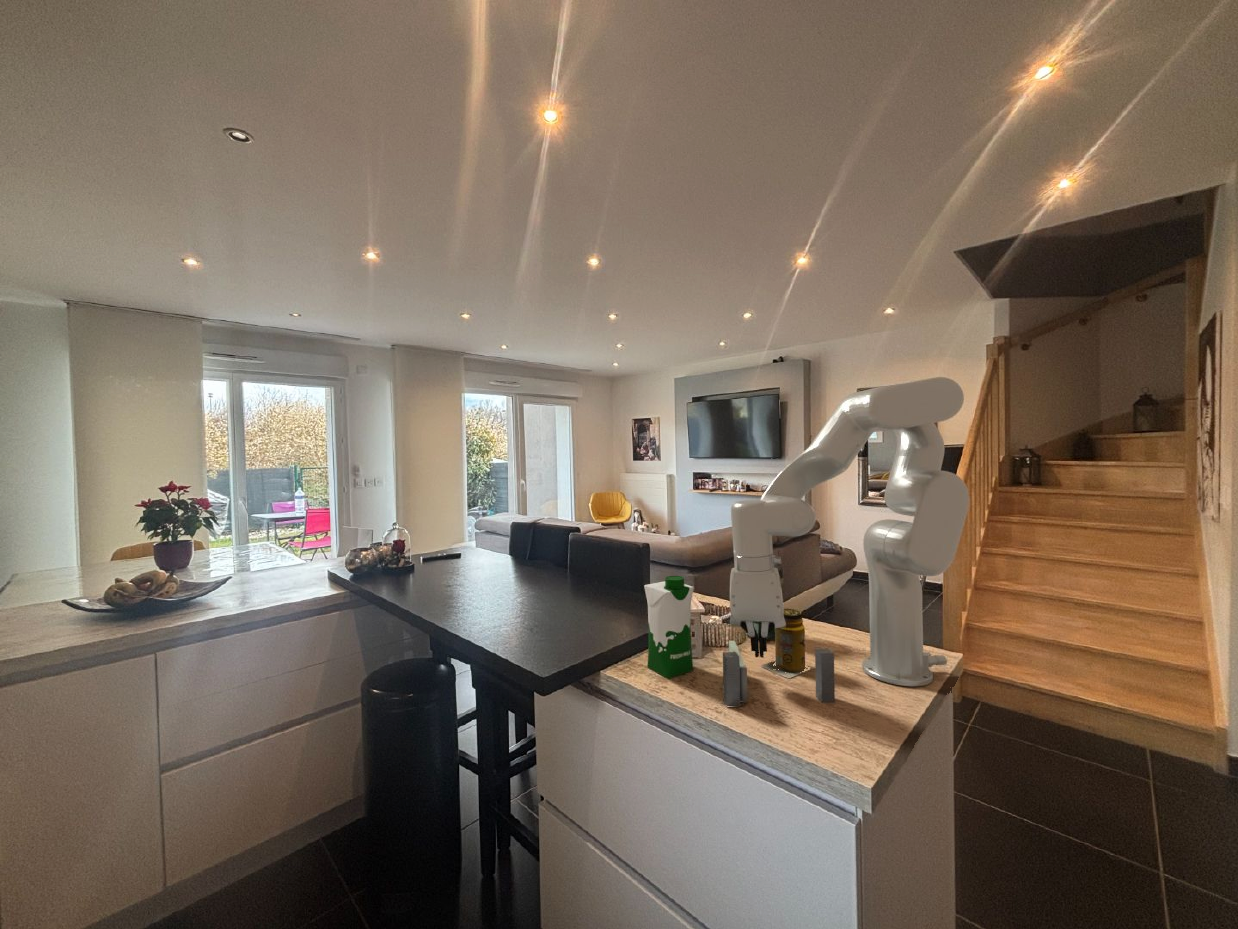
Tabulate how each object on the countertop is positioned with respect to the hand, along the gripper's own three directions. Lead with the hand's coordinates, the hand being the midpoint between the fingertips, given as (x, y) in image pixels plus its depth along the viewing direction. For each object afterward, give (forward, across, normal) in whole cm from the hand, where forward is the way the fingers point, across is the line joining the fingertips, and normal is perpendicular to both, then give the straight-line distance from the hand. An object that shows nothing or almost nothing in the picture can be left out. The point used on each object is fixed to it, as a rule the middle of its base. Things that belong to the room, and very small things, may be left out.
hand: (759, 654), depth 96 cm
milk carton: (+5, +19, -3) cm, 20 cm away
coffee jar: (+7, -1, -28) cm, 29 cm away
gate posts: (+6, -3, +6) cm, 9 cm away
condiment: (+7, -5, -9) cm, 13 cm away
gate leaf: (+5, +4, +2) cm, 7 cm away
